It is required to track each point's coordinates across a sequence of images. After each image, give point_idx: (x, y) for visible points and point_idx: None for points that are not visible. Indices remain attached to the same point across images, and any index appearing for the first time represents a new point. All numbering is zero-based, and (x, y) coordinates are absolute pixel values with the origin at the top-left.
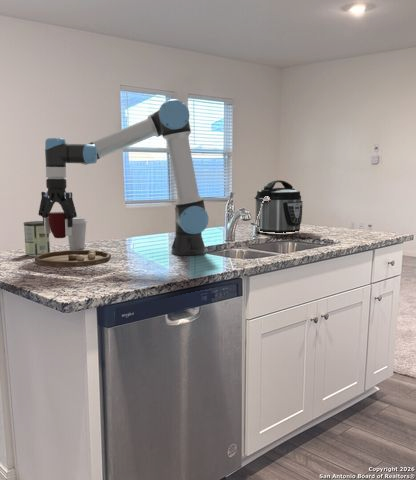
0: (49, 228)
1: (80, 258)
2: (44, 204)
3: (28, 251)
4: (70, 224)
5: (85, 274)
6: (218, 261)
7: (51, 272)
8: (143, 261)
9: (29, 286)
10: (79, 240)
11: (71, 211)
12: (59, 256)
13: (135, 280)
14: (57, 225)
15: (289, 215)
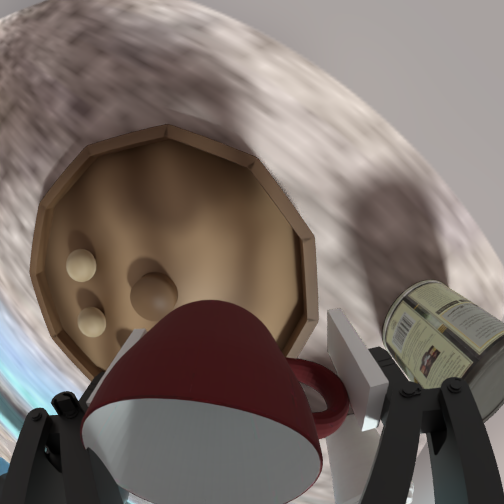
0: (336, 362)
1: (68, 256)
2: (452, 499)
3: (436, 286)
4: (91, 386)
5: (5, 173)
6: (4, 422)
7: (83, 113)
8: (52, 392)
9: (36, 14)
10: (335, 454)
11: (17, 442)
12: (272, 312)
13: None
14: (147, 332)
15: None
